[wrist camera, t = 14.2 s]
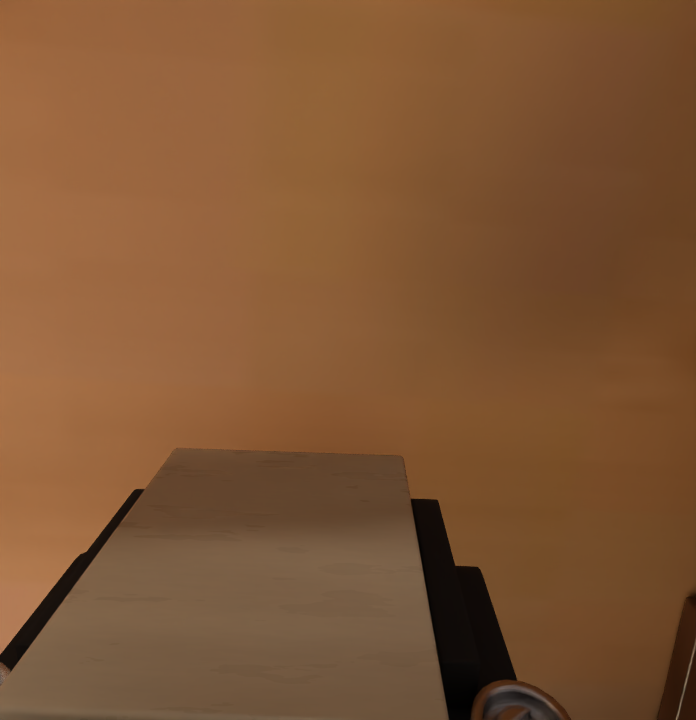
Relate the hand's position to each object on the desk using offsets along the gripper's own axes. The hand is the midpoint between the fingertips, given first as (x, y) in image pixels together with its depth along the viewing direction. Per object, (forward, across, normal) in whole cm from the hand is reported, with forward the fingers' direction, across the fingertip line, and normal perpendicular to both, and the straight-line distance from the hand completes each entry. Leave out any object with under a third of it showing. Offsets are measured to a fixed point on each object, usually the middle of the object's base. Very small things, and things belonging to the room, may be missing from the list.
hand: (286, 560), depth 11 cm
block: (0, 0, 0) cm, 0 cm away
